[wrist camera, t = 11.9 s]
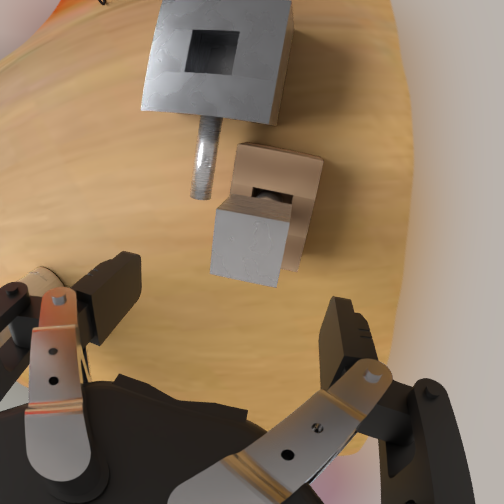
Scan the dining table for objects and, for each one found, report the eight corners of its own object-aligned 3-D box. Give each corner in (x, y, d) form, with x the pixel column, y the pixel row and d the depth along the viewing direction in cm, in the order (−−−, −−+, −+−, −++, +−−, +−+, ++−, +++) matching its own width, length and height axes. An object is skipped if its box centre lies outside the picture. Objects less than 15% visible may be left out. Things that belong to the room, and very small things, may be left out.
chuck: (263, 197, 29) (252, 218, 23) (167, 180, 30) (132, 195, 23) (294, 29, 22) (291, 0, 16) (192, 21, 23) (163, -3, 16)
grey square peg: (294, 183, 27) (289, 222, 16) (286, 224, 29) (276, 287, 18) (251, 175, 27) (216, 208, 16) (245, 216, 29) (209, 273, 18)
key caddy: (298, 254, 31) (297, 272, 27) (230, 240, 31) (221, 255, 27) (320, 157, 27) (323, 160, 23) (246, 142, 27) (237, 144, 23)
